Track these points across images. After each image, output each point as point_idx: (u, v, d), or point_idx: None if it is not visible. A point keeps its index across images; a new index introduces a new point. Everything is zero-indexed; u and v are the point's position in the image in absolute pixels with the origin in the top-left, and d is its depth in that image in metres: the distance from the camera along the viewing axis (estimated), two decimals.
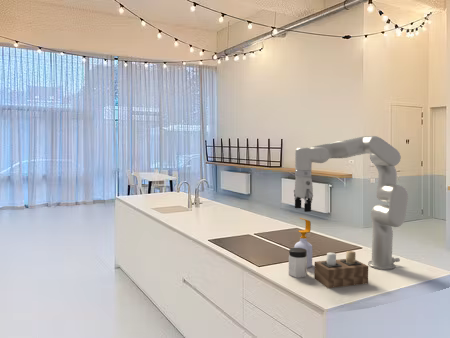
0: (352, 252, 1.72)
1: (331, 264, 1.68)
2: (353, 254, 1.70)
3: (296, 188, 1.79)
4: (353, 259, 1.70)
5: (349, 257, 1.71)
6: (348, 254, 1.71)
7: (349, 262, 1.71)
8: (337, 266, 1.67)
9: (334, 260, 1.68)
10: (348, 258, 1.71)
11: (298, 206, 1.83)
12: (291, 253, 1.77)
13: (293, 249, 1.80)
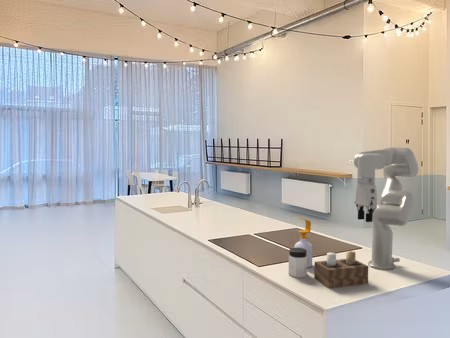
0: (352, 252, 1.72)
1: (331, 264, 1.68)
2: (353, 254, 1.70)
3: (358, 196, 1.74)
4: (353, 259, 1.70)
5: (349, 257, 1.71)
6: (348, 254, 1.71)
7: (349, 262, 1.71)
8: (337, 266, 1.67)
9: (334, 260, 1.68)
10: (348, 258, 1.71)
11: (361, 217, 1.75)
12: (291, 253, 1.77)
13: (293, 249, 1.80)
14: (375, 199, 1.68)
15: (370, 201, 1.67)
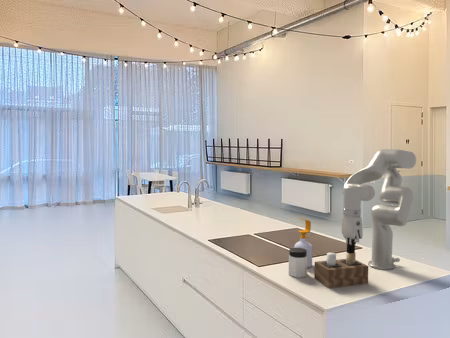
0: None
1: (331, 264, 1.68)
2: (353, 254, 1.70)
3: (344, 227, 1.73)
4: (353, 259, 1.70)
5: (349, 257, 1.71)
6: (348, 254, 1.71)
7: (349, 262, 1.71)
8: (337, 266, 1.67)
9: (334, 260, 1.68)
10: (348, 258, 1.71)
11: None
12: (291, 253, 1.77)
13: (293, 249, 1.80)
14: (360, 232, 1.67)
15: (355, 234, 1.66)
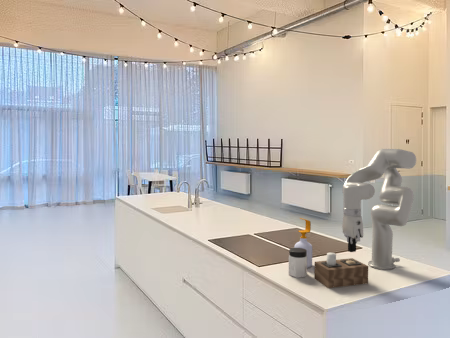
0: (352, 262, 1.72)
1: (331, 264, 1.68)
2: None
3: (344, 226, 1.73)
4: None
5: None
6: None
7: None
8: (337, 266, 1.67)
9: (334, 260, 1.68)
10: None
11: None
12: (291, 253, 1.77)
13: (293, 249, 1.80)
14: (361, 231, 1.67)
15: (356, 233, 1.67)
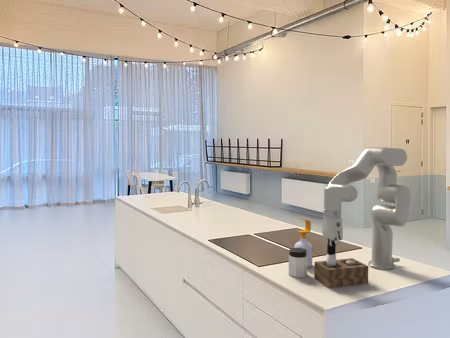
0: (352, 262, 1.72)
1: (331, 265, 1.68)
2: None
3: (324, 228, 1.70)
4: None
5: None
6: None
7: None
8: (337, 266, 1.67)
9: (334, 260, 1.68)
10: None
11: None
12: (291, 253, 1.77)
13: (293, 249, 1.80)
14: (341, 233, 1.64)
15: (335, 235, 1.64)
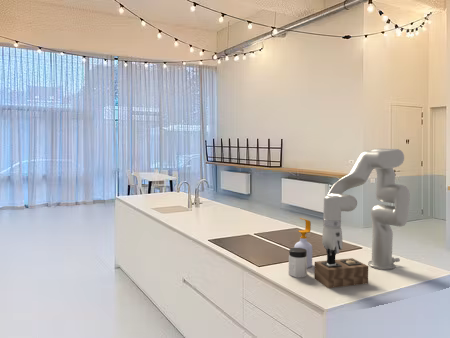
0: (352, 262, 1.72)
1: None
2: None
3: (324, 238, 1.70)
4: None
5: None
6: None
7: None
8: (337, 266, 1.67)
9: None
10: None
11: None
12: (291, 253, 1.77)
13: (293, 249, 1.80)
14: (340, 242, 1.64)
15: (335, 245, 1.64)
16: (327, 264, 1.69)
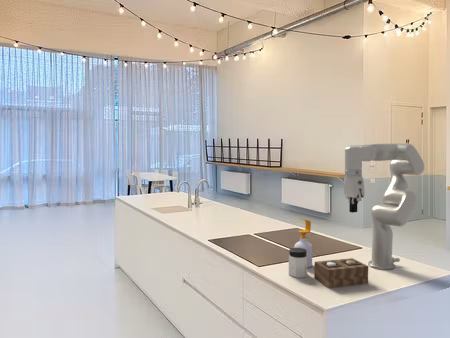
0: (352, 262, 1.72)
1: None
2: None
3: (346, 188, 1.77)
4: None
5: None
6: None
7: None
8: (337, 266, 1.67)
9: None
10: None
11: None
12: (291, 253, 1.77)
13: (293, 249, 1.80)
14: (362, 190, 1.71)
15: (357, 192, 1.70)
16: (327, 264, 1.69)
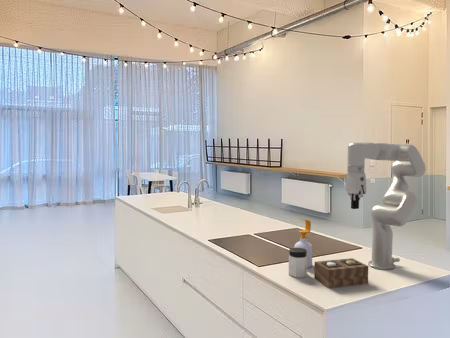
0: (352, 262, 1.72)
1: None
2: None
3: (348, 184, 1.78)
4: None
5: None
6: None
7: None
8: (337, 266, 1.67)
9: None
10: None
11: None
12: (291, 253, 1.77)
13: (293, 249, 1.80)
14: (364, 187, 1.72)
15: (360, 189, 1.71)
16: (327, 264, 1.69)
